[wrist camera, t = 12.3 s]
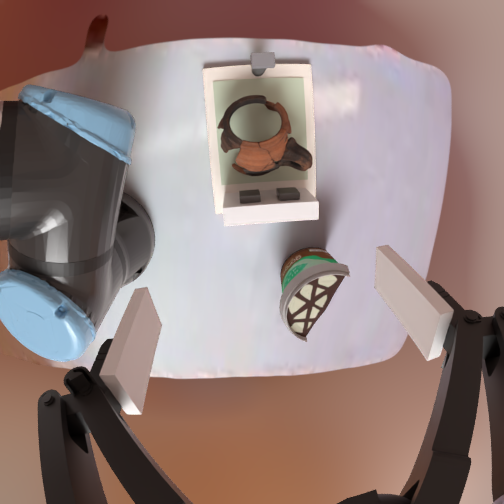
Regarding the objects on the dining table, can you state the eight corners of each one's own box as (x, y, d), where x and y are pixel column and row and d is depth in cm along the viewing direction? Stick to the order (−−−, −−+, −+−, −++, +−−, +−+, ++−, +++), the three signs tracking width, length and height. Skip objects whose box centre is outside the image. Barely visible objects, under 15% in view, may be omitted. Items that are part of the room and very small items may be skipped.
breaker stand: (216, 211, 42) (212, 232, 35) (203, 70, 34) (195, 58, 26) (314, 204, 42) (330, 223, 35) (309, 65, 34) (326, 54, 27)
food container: (295, 226, 44) (310, 255, 35) (330, 241, 45) (352, 273, 36) (259, 293, 48) (265, 333, 39) (293, 304, 49) (305, 344, 40)
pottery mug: (211, 168, 39) (200, 141, 30) (239, 112, 39) (236, 78, 31) (297, 201, 38) (307, 180, 30) (320, 141, 39) (333, 111, 31)
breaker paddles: (239, 196, 37) (240, 203, 35) (239, 190, 37) (239, 196, 34) (295, 193, 37) (300, 199, 35) (295, 187, 37) (299, 192, 34)
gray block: (248, 76, 33) (252, 66, 27) (248, 65, 33) (251, 53, 26) (267, 76, 33) (275, 65, 27) (266, 64, 33) (274, 52, 26)
